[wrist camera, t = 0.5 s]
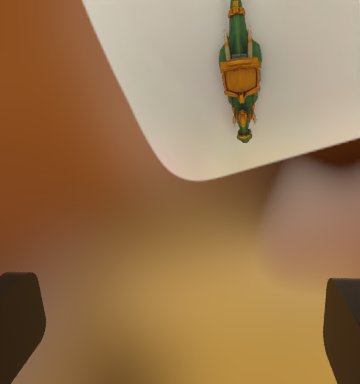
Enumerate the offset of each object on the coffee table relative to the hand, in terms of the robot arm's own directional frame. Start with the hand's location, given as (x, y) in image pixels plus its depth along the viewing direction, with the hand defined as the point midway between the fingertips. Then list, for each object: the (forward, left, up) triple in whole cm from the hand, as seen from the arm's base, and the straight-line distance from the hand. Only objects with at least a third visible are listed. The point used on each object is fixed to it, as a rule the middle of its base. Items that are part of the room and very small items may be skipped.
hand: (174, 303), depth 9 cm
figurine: (-4, +2, -24) cm, 24 cm away
